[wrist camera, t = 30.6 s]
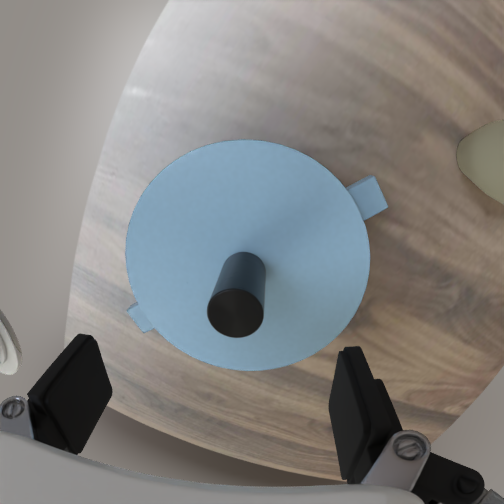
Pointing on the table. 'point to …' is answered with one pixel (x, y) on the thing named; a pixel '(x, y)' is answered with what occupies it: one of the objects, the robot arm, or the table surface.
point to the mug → (484, 159)
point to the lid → (247, 255)
